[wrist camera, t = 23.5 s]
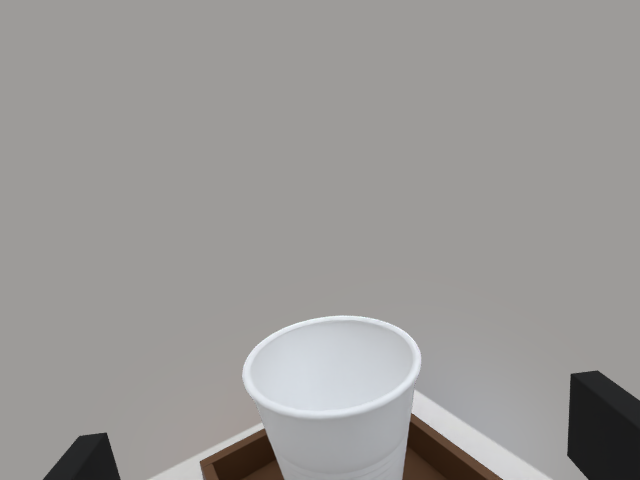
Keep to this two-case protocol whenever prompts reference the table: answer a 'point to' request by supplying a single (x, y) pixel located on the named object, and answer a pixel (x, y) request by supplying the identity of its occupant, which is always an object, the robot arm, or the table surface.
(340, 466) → the cup
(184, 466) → the table surface
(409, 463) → the tray
